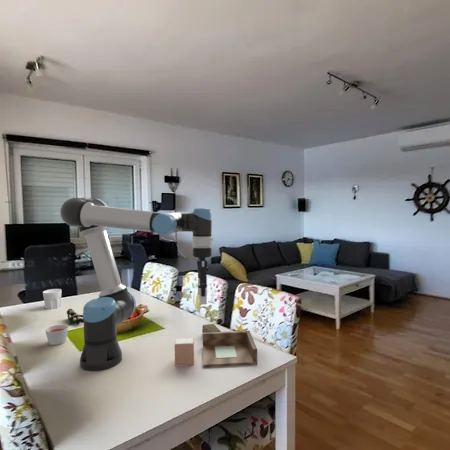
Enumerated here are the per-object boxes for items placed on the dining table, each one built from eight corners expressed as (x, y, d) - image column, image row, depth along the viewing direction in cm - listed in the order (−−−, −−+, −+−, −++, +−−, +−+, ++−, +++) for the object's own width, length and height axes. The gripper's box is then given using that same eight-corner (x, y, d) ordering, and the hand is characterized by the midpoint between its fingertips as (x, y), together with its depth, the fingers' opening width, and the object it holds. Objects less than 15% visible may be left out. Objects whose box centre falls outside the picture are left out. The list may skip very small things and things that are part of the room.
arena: (203, 367, 120) (203, 351, 120) (202, 346, 138) (202, 332, 138) (257, 364, 122) (257, 348, 121) (249, 344, 139) (249, 330, 139)
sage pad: (216, 358, 125) (216, 357, 125) (214, 347, 135) (214, 346, 135) (237, 357, 125) (237, 356, 125) (234, 346, 135) (234, 345, 135)
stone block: (209, 344, 141) (209, 332, 141) (201, 334, 151) (201, 324, 151) (222, 341, 143) (222, 330, 143) (213, 332, 154) (213, 322, 153)
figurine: (72, 321, 162) (61, 309, 172) (72, 331, 163) (61, 319, 173) (88, 317, 168) (76, 305, 178) (87, 327, 169) (76, 315, 179)
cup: (50, 304, 202) (50, 288, 202) (65, 305, 201) (65, 289, 200) (39, 309, 192) (38, 292, 192) (55, 310, 191) (54, 293, 190)
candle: (42, 342, 144) (42, 328, 144) (64, 336, 151) (63, 323, 151) (50, 348, 138) (49, 333, 138) (72, 341, 145) (71, 327, 145)
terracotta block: (174, 365, 122) (174, 344, 121) (175, 359, 127) (175, 338, 126) (193, 364, 122) (193, 343, 122) (194, 358, 127) (193, 337, 127)
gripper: (214, 250, 118) (214, 308, 120) (209, 243, 143) (209, 290, 144) (193, 251, 118) (193, 309, 119) (191, 243, 142) (192, 291, 143)
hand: (202, 299), depth 132 cm, fingers open, 13 cm apart
